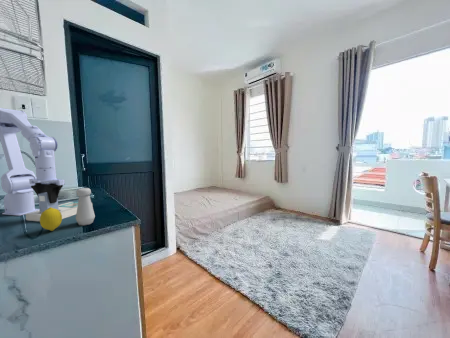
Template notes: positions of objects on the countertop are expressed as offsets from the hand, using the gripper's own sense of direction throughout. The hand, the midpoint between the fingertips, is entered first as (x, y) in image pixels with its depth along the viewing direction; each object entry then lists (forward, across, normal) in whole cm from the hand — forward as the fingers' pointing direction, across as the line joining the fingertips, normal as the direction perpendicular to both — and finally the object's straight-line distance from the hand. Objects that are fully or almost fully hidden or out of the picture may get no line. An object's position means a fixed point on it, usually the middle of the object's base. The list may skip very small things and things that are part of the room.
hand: (48, 202), depth 78 cm
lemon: (+6, +14, -10) cm, 18 cm away
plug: (+3, 0, 0) cm, 3 cm away
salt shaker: (+6, +19, -2) cm, 20 cm away
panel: (+6, 0, +5) cm, 8 cm away
